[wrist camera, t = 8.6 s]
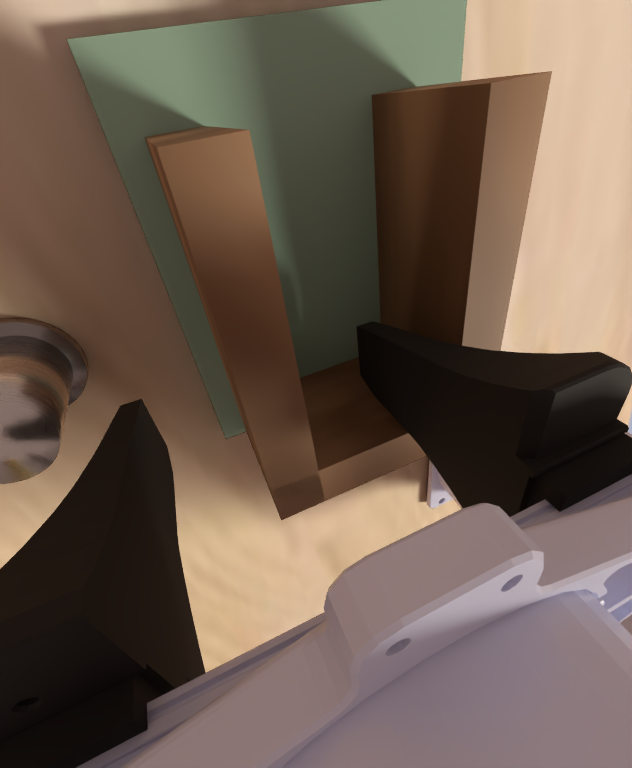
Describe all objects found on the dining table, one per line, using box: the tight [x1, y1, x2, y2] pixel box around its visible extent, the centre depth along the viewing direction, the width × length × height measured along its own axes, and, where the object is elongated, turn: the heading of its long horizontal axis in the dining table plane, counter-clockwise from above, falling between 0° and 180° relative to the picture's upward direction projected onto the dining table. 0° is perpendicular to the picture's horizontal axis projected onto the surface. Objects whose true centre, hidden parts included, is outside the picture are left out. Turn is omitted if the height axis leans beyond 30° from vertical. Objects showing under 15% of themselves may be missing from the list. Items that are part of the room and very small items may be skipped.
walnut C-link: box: [145, 71, 552, 520], centre depth 12 cm, size 8×11×5 cm
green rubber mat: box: [67, 0, 467, 439], centre depth 14 cm, size 11×13×1 cm
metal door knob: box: [0, 318, 88, 484], centre depth 11 cm, size 3×3×4 cm
